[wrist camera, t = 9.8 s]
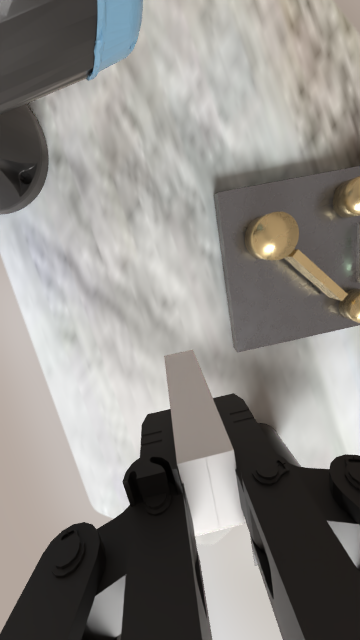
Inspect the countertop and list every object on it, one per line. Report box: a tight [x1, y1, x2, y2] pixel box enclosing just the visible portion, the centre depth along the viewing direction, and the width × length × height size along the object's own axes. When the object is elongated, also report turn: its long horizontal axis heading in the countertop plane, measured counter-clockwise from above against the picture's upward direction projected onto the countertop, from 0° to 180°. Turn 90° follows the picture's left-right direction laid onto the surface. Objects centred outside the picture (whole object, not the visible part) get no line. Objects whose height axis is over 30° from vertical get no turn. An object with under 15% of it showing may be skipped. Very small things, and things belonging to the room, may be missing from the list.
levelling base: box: [214, 166, 360, 352], centre depth 36 cm, size 24×24×6 cm
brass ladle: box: [245, 212, 348, 301], centre depth 35 cm, size 17×6×4 cm, turn 53°
